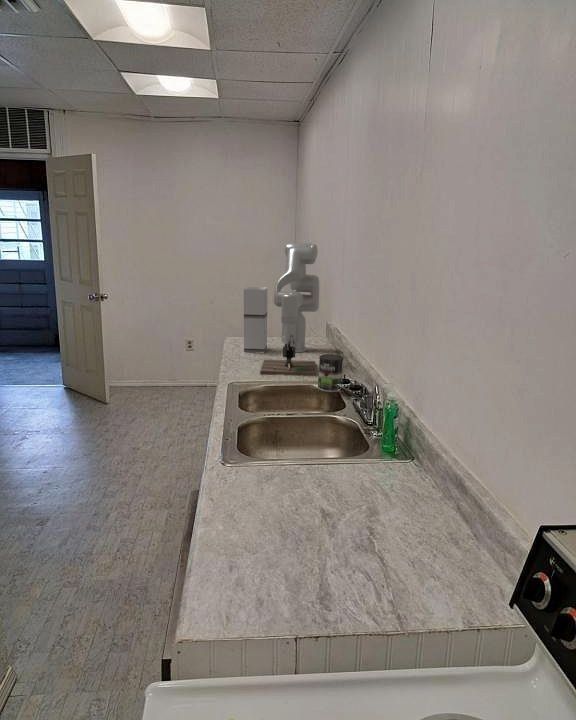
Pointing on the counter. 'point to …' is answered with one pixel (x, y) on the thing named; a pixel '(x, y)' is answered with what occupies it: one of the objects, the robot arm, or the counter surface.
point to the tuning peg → (288, 360)
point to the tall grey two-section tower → (255, 319)
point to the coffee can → (330, 372)
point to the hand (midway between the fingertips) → (288, 356)
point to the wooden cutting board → (280, 367)
